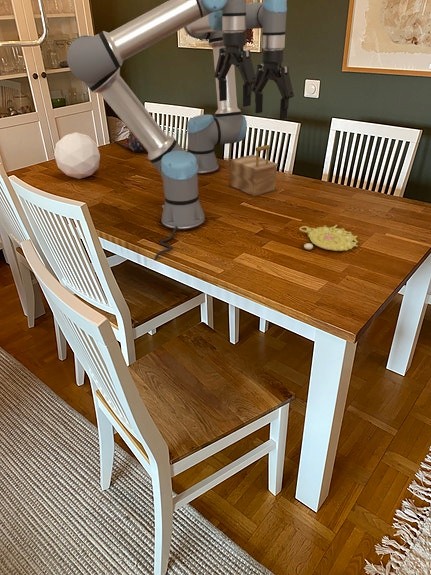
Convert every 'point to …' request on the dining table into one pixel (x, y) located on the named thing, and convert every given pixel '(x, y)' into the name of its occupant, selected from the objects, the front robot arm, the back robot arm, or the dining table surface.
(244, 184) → the chest
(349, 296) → the dining table surface
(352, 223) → the dining table surface
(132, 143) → the athletic shoe
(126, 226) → the dining table surface
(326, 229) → the decorative object
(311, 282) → the dining table surface
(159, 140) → the front robot arm
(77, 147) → the sphere
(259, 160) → the lid
